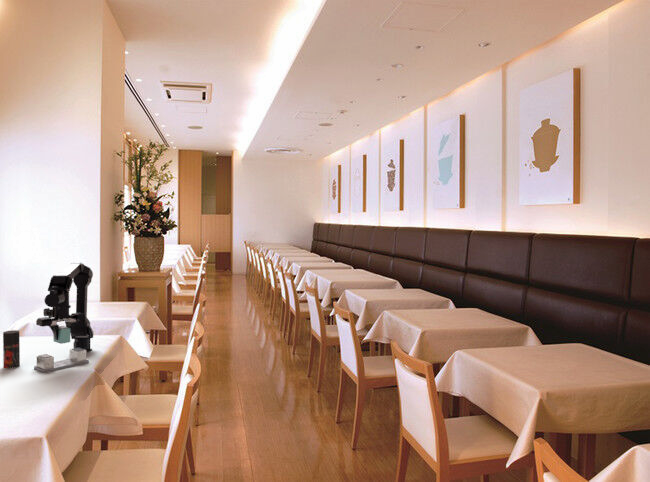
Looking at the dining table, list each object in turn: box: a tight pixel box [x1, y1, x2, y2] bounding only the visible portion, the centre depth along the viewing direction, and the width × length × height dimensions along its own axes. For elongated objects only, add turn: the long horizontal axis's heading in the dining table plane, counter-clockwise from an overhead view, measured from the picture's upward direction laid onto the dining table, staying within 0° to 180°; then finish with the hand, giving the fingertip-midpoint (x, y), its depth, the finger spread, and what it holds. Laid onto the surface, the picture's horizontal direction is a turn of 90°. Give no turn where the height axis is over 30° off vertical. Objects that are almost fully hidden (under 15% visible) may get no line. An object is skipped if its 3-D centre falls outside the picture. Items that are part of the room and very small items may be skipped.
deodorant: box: [2, 329, 21, 369], centre depth 214 cm, size 6×6×15 cm
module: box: [52, 325, 71, 345], centre depth 216 cm, size 4×6×6 cm, turn 54°
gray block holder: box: [33, 347, 90, 374], centre depth 216 cm, size 19×9×6 cm, turn 144°
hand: (61, 338), depth 216 cm, fingers closed on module, 4 cm apart
